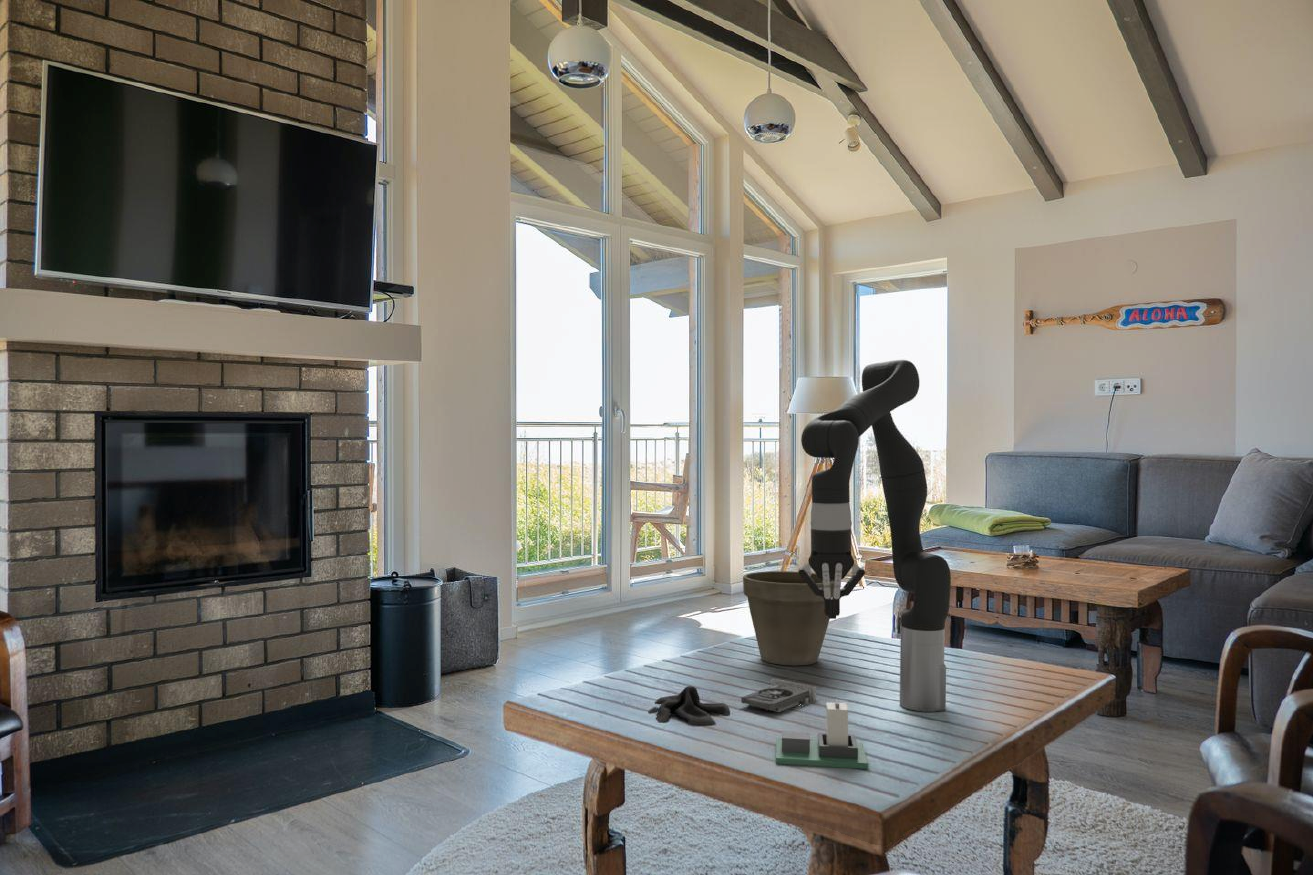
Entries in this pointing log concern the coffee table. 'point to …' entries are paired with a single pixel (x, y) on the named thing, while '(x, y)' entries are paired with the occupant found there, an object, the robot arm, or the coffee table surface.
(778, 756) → the header board
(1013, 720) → the coffee table surface
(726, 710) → the cloth
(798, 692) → the graphics card
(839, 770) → the coffee table surface
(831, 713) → the plug
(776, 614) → the plant pot
